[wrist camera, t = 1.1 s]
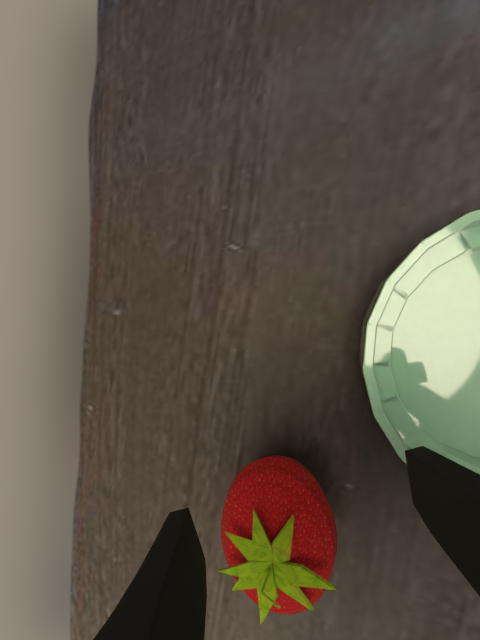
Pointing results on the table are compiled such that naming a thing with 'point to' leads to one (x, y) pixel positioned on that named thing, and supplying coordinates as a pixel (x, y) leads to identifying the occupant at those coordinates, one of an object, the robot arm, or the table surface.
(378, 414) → the mint green dish
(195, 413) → the table surface
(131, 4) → the table surface
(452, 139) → the table surface
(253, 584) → the strawberry
